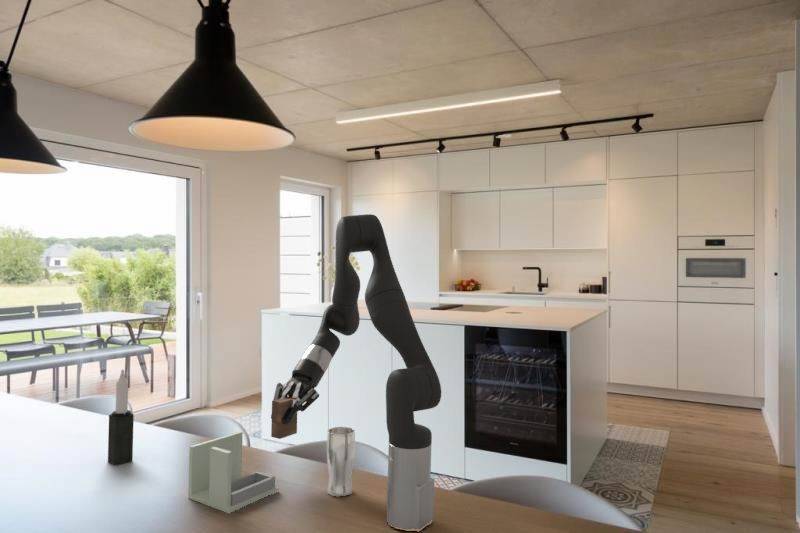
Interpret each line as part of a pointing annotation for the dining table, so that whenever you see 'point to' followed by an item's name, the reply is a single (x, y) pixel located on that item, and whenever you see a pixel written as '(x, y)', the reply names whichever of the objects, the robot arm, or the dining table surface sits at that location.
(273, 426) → the brown wooden block
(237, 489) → the sage green display stand
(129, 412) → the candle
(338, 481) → the beer glass
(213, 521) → the dining table surface
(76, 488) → the dining table surface
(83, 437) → the dining table surface
